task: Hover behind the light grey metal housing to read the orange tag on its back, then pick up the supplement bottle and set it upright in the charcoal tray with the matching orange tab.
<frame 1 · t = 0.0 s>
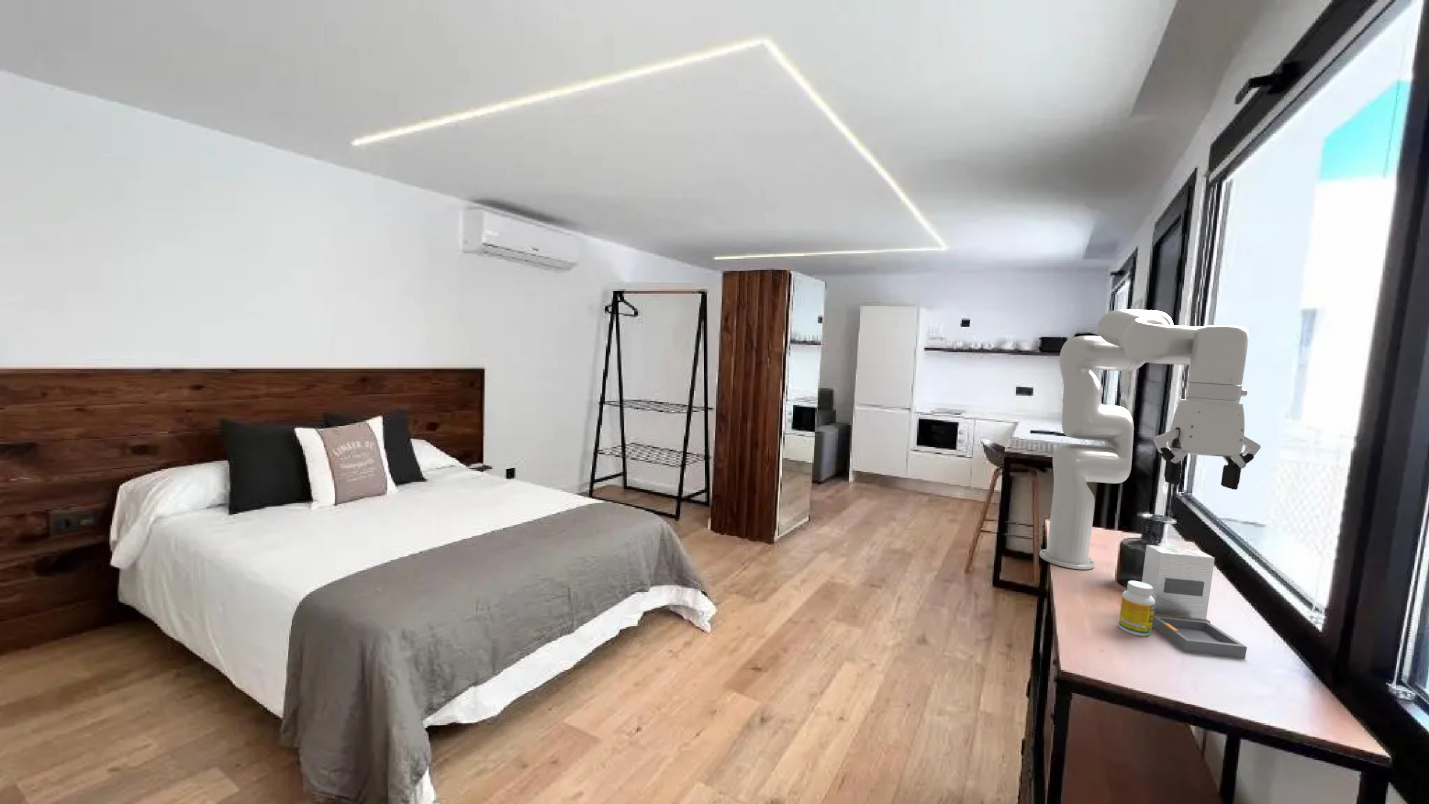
hand: (1200, 485, 107), 31 cm above the table, fingers open, 9 cm apart
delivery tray: (1195, 641, 112), on the table
supplement bottle: (1134, 631, 115), on the table
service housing: (1170, 618, 122), on the table
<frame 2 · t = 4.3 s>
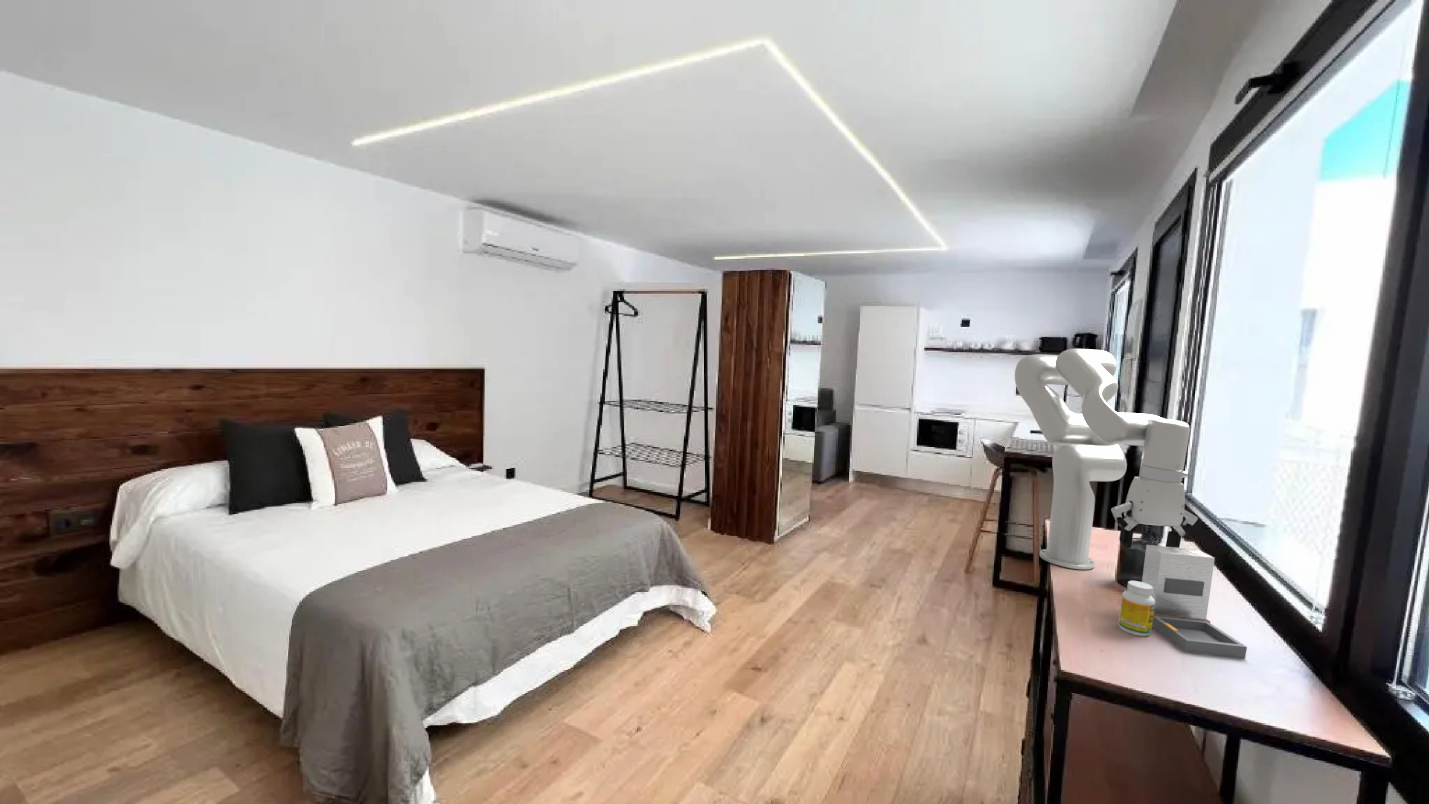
hand: (1148, 548, 130), 12 cm above the table, fingers open, 9 cm apart
nothing on the table moved.
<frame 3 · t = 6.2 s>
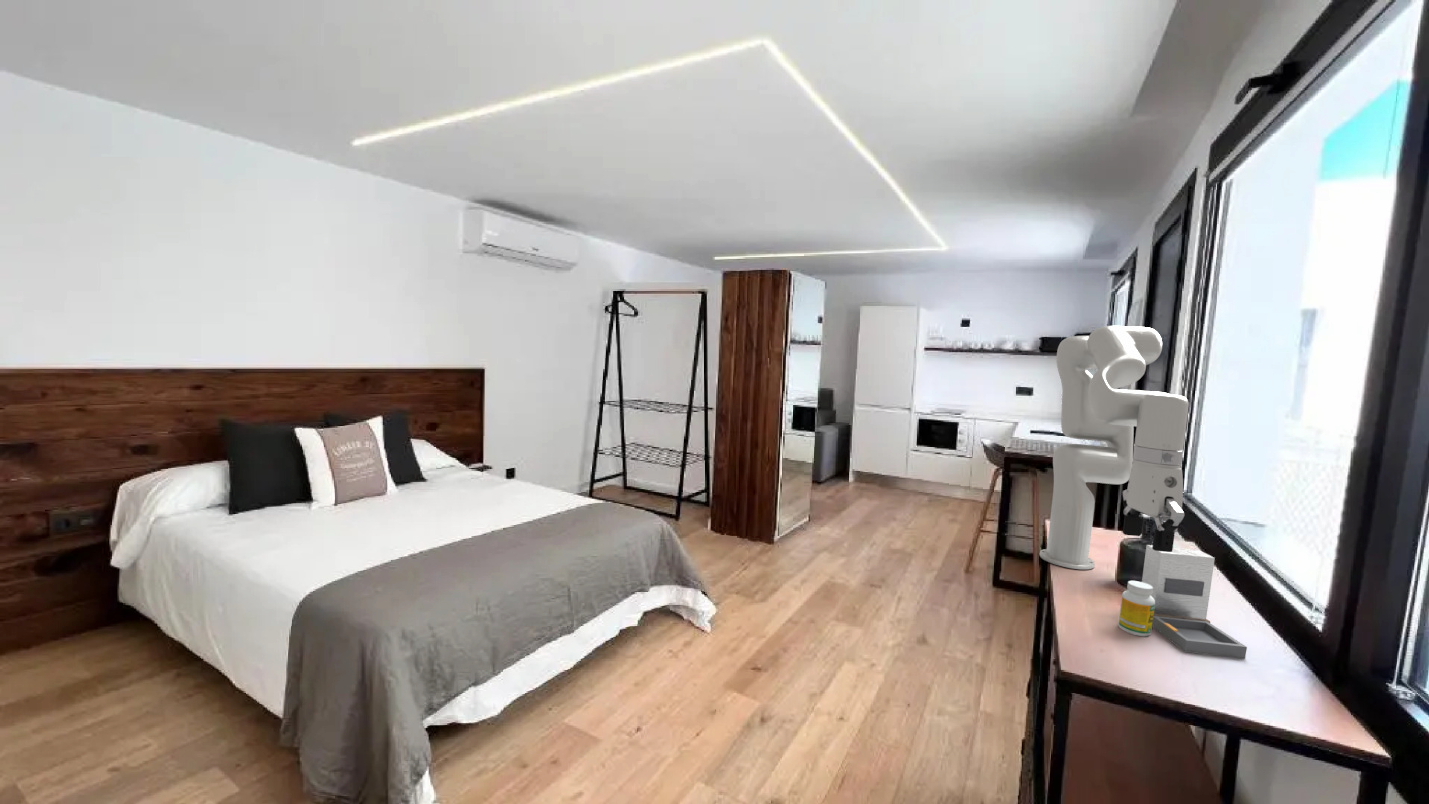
hand: (1146, 542, 113), 18 cm above the table, fingers open, 9 cm apart
nothing on the table moved.
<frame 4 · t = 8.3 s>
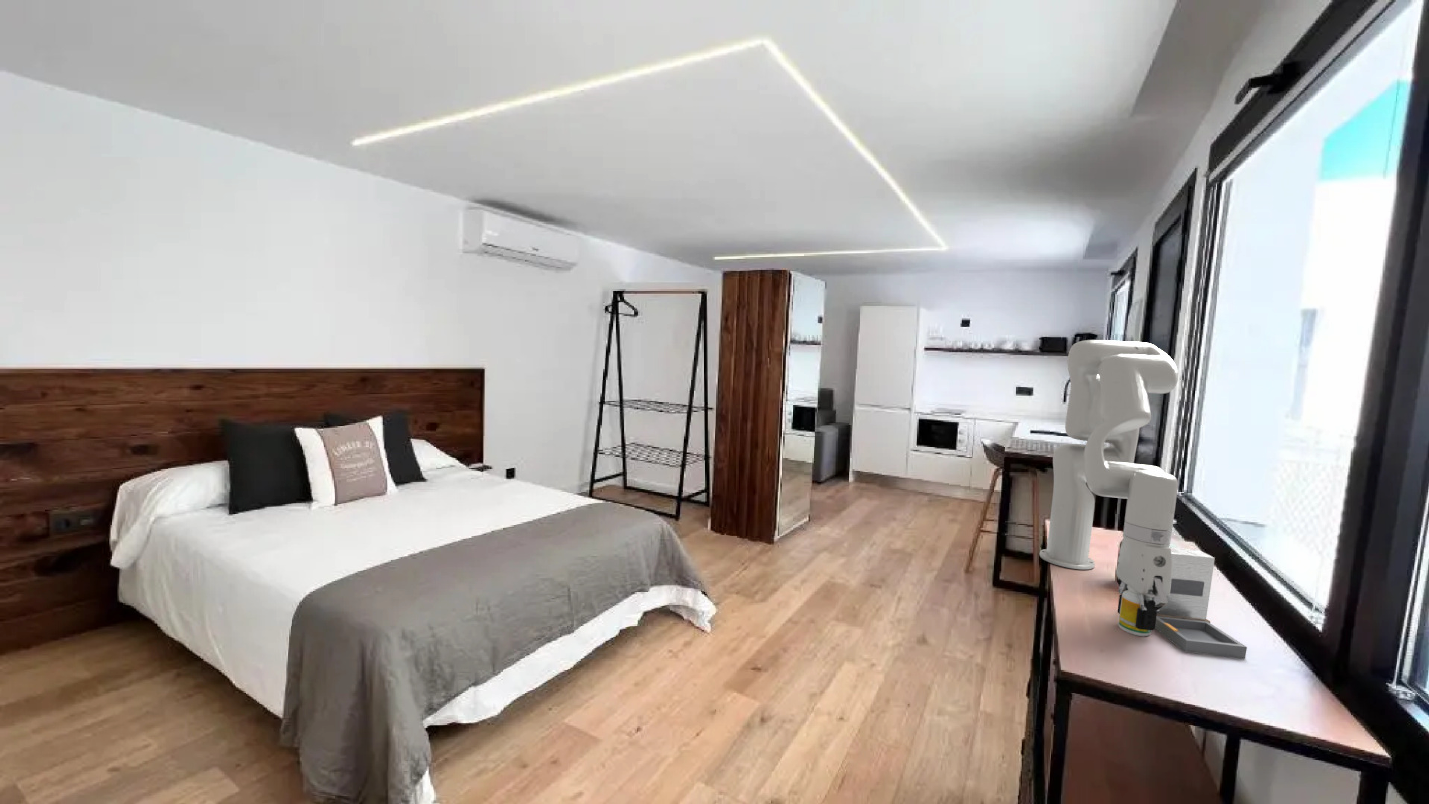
hand: (1135, 620, 115), 2 cm above the table, fingers closed on supplement bottle, 5 cm apart
supplement bottle: (1134, 631, 115), on the table, touching gripper
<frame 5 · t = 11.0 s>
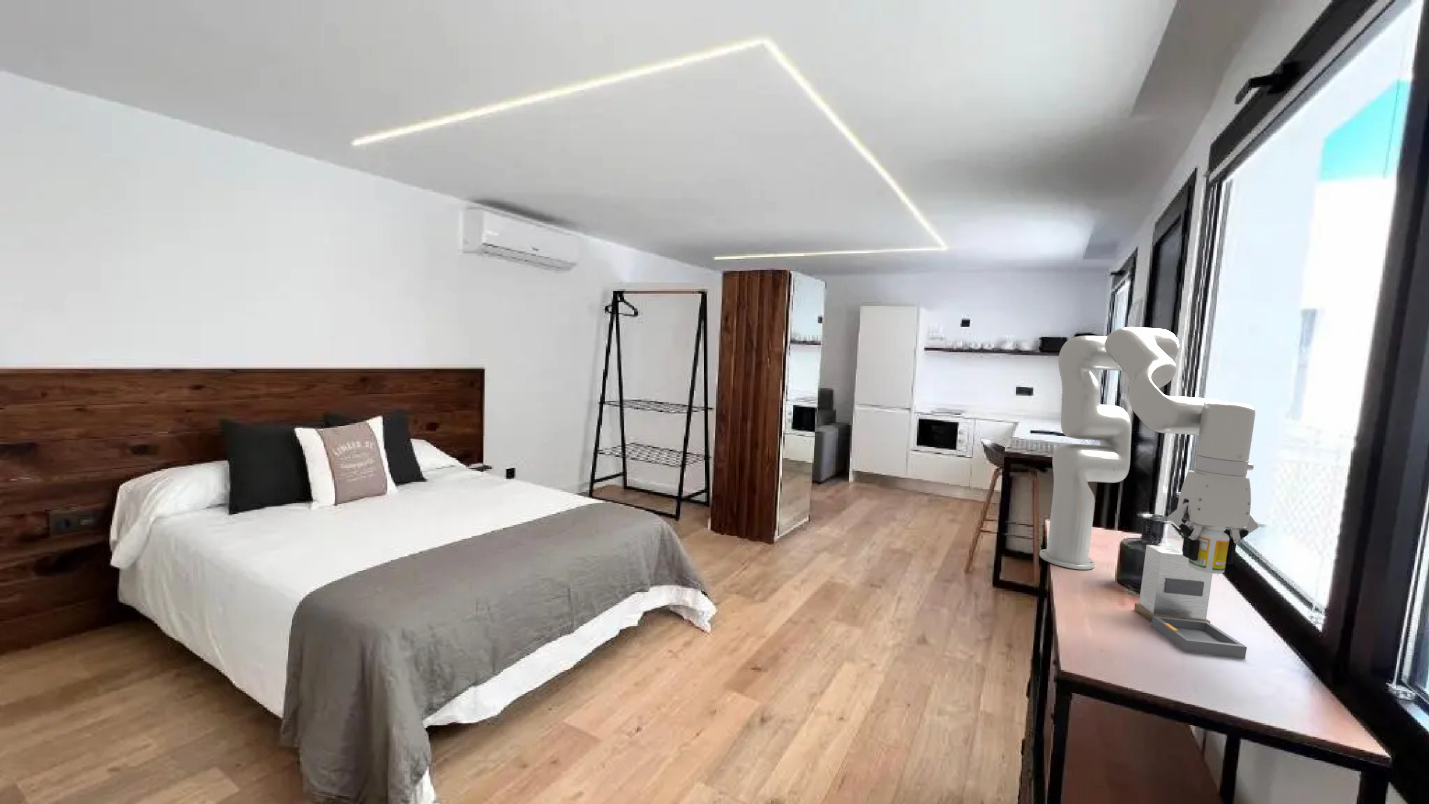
hand: (1207, 558, 110), 17 cm above the table, fingers closed on supplement bottle, 5 cm apart
supplement bottle: (1205, 570, 111), point 14 cm above the table, touching gripper
when the fingers open (4 cm above the table, at t = 13.6 s): supplement bottle drops 1 cm, resting on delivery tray.
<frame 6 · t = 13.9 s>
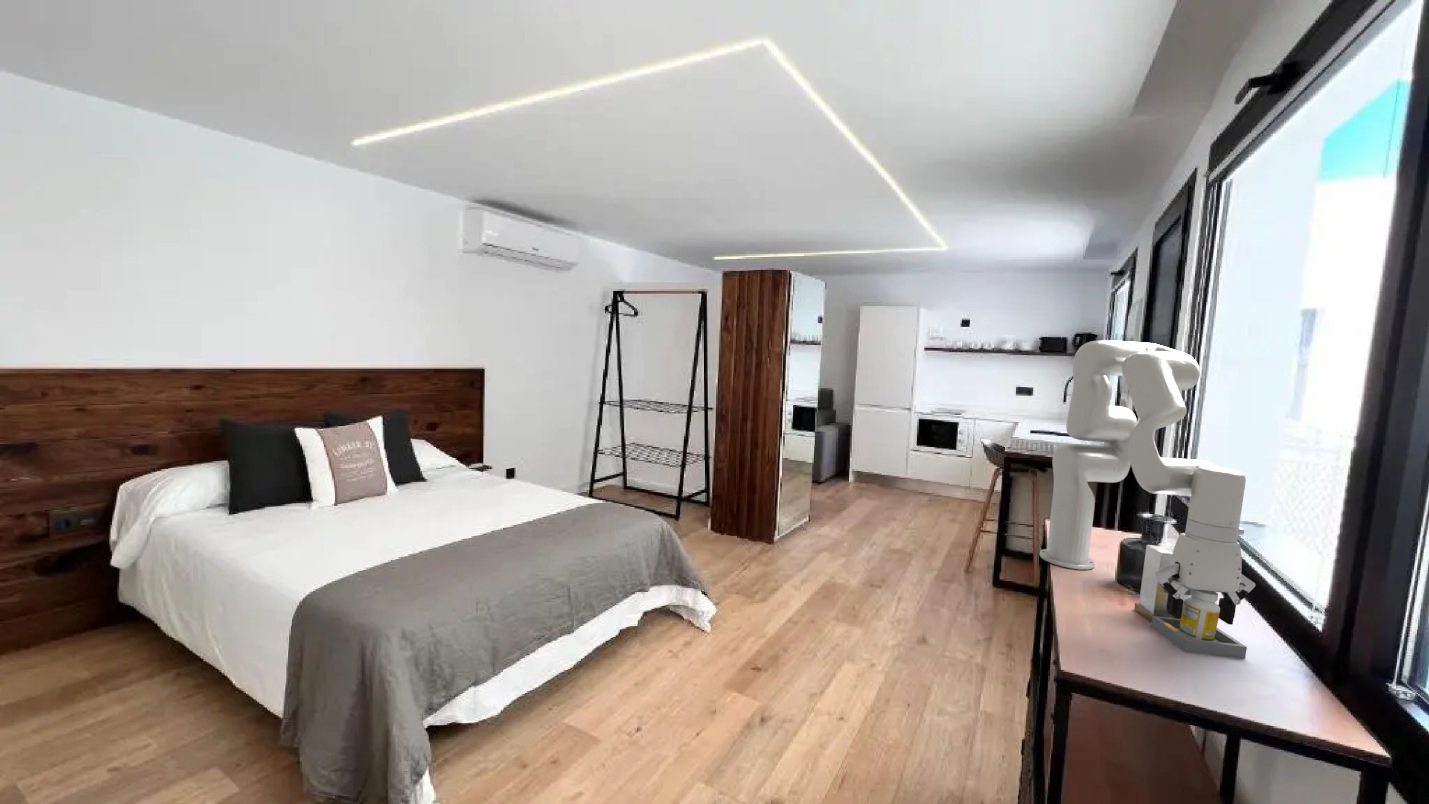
hand: (1199, 618, 112), 5 cm above the table, fingers open, 8 cm apart
supplement bottle: (1195, 638, 112), resting on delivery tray
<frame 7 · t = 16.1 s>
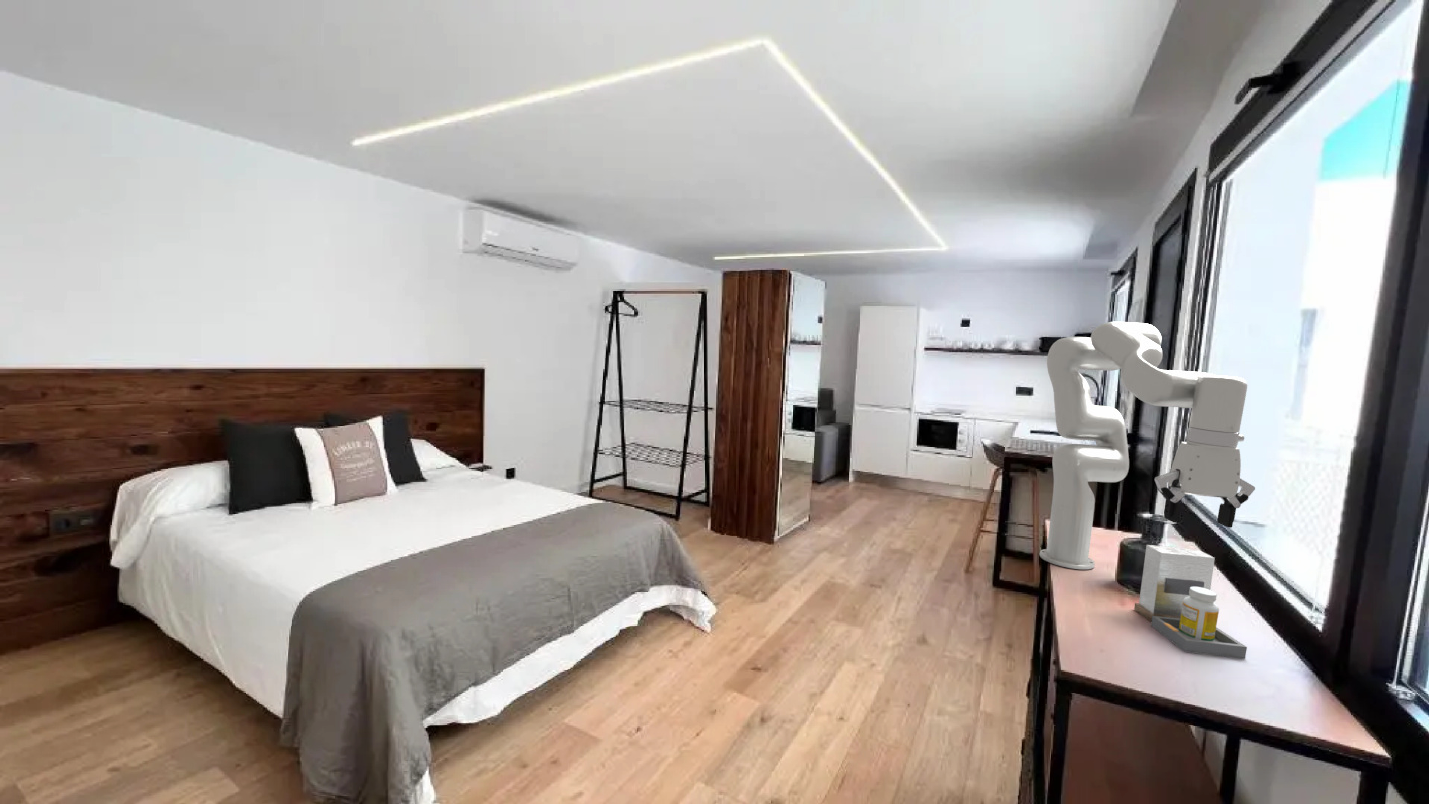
hand: (1197, 522, 115), 22 cm above the table, fingers open, 9 cm apart
nothing on the table moved.
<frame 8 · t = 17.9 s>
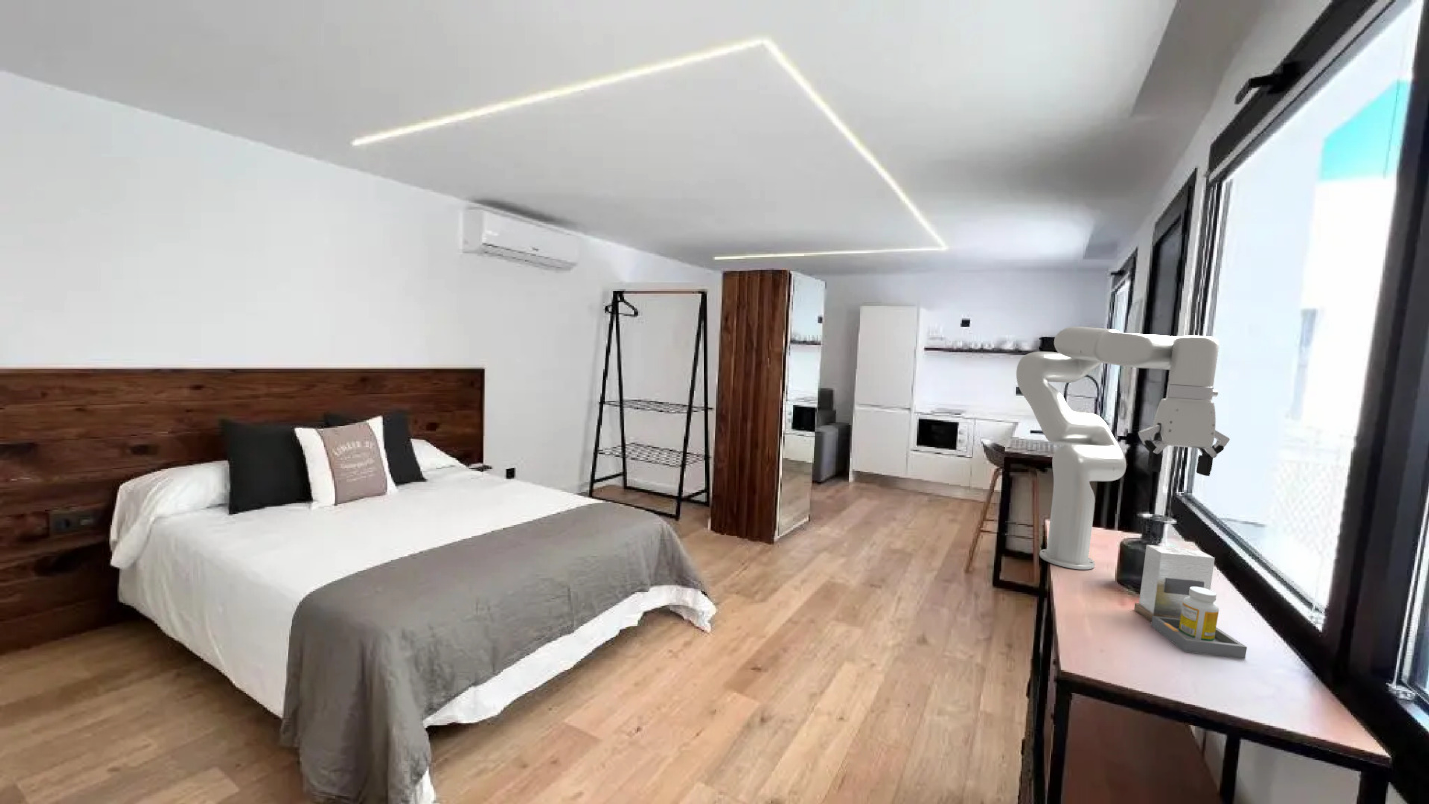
hand: (1178, 472, 125), 30 cm above the table, fingers open, 9 cm apart
nothing on the table moved.
at the end: supplement bottle 0.2 cm off-centre on the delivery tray, point 0.4 cm above the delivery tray's base; supplement bottle tilted 0°; the gripper is holding nothing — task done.
